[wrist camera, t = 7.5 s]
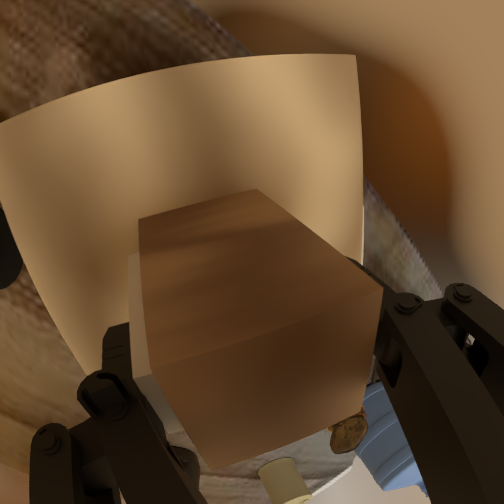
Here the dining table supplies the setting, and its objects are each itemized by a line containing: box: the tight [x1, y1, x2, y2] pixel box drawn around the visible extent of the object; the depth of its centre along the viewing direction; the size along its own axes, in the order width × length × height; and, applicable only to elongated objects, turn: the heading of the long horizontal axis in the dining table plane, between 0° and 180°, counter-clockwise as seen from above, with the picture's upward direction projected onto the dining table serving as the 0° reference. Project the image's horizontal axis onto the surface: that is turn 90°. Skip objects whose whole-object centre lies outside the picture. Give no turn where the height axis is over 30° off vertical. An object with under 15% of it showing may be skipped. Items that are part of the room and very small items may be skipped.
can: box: [258, 458, 312, 504], centre depth 59 cm, size 9×9×12 cm
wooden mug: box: [326, 404, 368, 454], centre depth 43 cm, size 9×14×18 cm, turn 37°
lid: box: [0, 54, 383, 470], centre depth 11 cm, size 16×16×9 cm
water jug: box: [354, 381, 429, 497], centre depth 51 cm, size 16×16×28 cm
